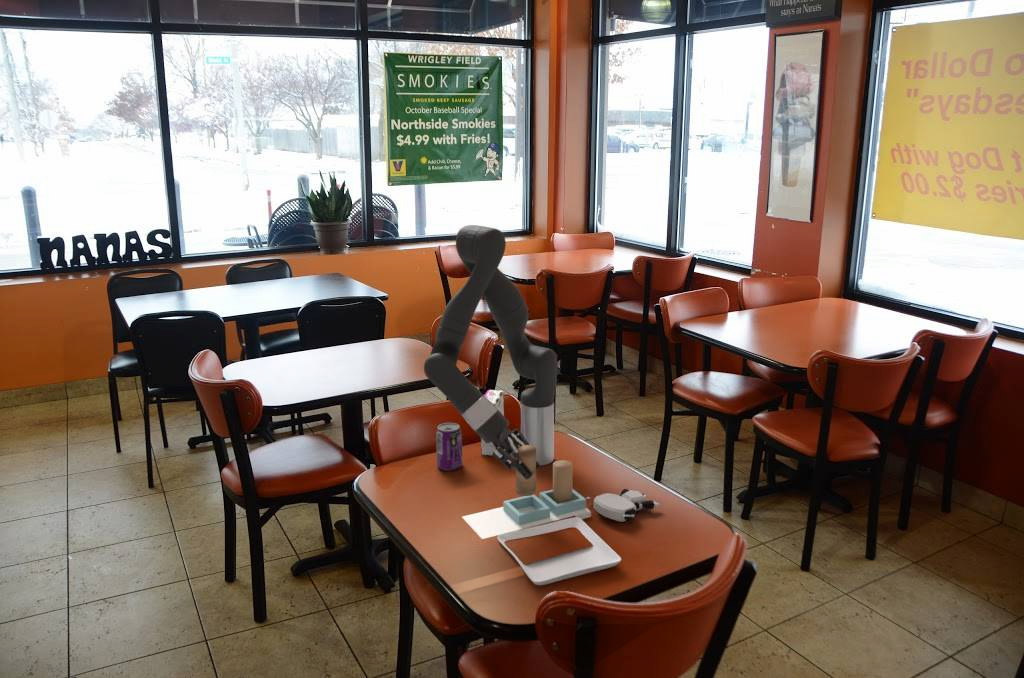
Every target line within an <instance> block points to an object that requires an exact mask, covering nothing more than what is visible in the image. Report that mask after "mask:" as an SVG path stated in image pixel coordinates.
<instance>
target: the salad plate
mask: <svg viewBox="0 0 1024 678" xmlns="http://www.w3.org/2000/svg"><path fill="white" fill-rule="evenodd" d="M569 528H570V529H571V528H576V529H577V530H578V531H580V533H581V534H582V535H583V536H584V537H585V539H586V540H588V541H589V542H590V543H591V546H586V547H583V548H579V549H576V550H573V551H569V552H566V553H561V554H557V555H555V556H551V557H547V558H544V559H540V560H536V561H533V562H529V563H526V564H523V562H522V561H521V559H519V558H518V556H517V555H516V554H515V553H514V551H512V549H510V547H508V546H507V545H506V544H505V542H506V541H512V540H516V539H517V540H518V539H523V538H527V537H528V538H529V537H534V536H538V535H544V534H548V533H554V532H557V531H561V530H565V529H569ZM496 537H497V540H498V542H499V543H500V544H501V545H502V546H503V547H504V549H506V550H507V551H508V552H509V553H510V554H511V556H512V557H513V558H514V559H515V560H516V561H517V563H518V565H520V567H521V569H522V570H523V571H524V574H526V576H527V577H528V578H529V580H530V581H531V582H532V584H534V585H536V586H544V585H548V584H549V585H550V584H553V583H555V582H559V581H563V580H566V579H571V578H574V577H578V576H581V575H586V574H589V573H594V572H597V571H601V570H605V569H609V568H613V567H615V566H616V565H618V564H619V563H621V562H622V558H621V556H620V555H619V554H618V553H617V552H616V551H614V549H612V548H611V547H610V546H609V545H608V544H607V543H606V542H605V541H604V540H603V539H602V538H601V537H600V536H599V535H598V534H597V533H596V532H595V531H594V530H593V529H592V528H591V527H590V526H589V525H588V524H587V523H586V522H585V521H584V519H580V518H579V517H576V516H575V517H574V516H573V517H568V518H564V519H560V520H556V521H552V522H548V523H544V524H540V525H536V526H532V527H528V528H525V529H521V530H517V531H513V532H509V533H505V534H501V535H497V536H496Z"/></svg>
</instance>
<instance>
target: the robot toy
mask: <svg viewBox="0 0 1024 678" xmlns="http://www.w3.org/2000/svg"><path fill="white" fill-rule="evenodd" d="M586 500H593V505H592V506H593V507H592V508H593V509H594V510H595V511H596V512H597V513H598V514H600V515H601V516H603V517H604V518H607V519H610V520H614V521H616V522H620V523H623V522H626V521H627V520H630V519H633V518H635V517H636V515H637V513H636V512H637V511H641V510H642V509H643V508H644V509H646V510H654V507H655V508H658V507H660V503H659V502H657V501H653V500H652V499H651V500H647V494H644V493H642V492H641V491H639V490H638V491H636V490H631V489H628V488H623V489H622V490H621V492H620V495H619V494H615V493H608V492H606V493H602V494H599V495H597V496H595V497H589V496H587V497H586Z"/></svg>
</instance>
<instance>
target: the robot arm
mask: <svg viewBox="0 0 1024 678" xmlns="http://www.w3.org/2000/svg"><path fill="white" fill-rule="evenodd" d="M506 244H507V243H506V238H505V235H504V233H503V232H502V231H501V230H500V229H498V228H495V227H489V226H481V225H478V224H477V225H475V224H469V225H464V226H462V227H461V228H460V229H459V230H458V232H457V234H456V238H455V249H456V252H457V254H458V256H459V259H460V260H461V262H462V263H463V265H464V266H465V268H466V269H467V271H468V273H469V274H470V276H469V278H468V279H467V280H466V281H465V282H464V284H463V286H461V288H459V290H458V291H457V292H456V293H455V294H454V295H453V296H452V298H450V300H449V302H447V305H446V306H445V308H444V311H443V312H442V315H441V319H440V321H439V324H438V327H437V330H436V334H435V341H434V344H433V346H432V349H431V351H430V355H429V356H428V357H426V359H425V361H424V364H423V371H424V374H425V376H426V377H427V379H428V380H429V381H430V382H431V383H432V384H433V385H434V386H435V387H436V388H437V389H438V390H439V392H441V393H442V394H443V395H445V397H446V398H447V399H448V401H449V402H450V404H451V405H452V406H453V408H455V409H456V411H458V413H459V414H460V415H461V416H462V417H463V419H464V420H465V422H467V424H468V425H469V426H470V428H471V429H472V430H474V431H473V432H475V433H476V434H477V436H479V437H480V439H481V438H482V440H483V441H484V442H485V443H487V444H488V443H490V442H492V443H493V445H494V446H495V448H496V450H495V451H494V452H493V453H492V454H493V456H492V457H494V458H495V459H496V460H497V461H499V462H500V463H501V464H502V465H503V466H504V467H506V468H507V469H508V470H510V471H511V470H512V469H514V470H516V469H517V470H518V471H519V472H520V473H521V475H522V476H523V477H524V478H525V479H529V478H530V477H531V476H532V475H533V472H532V471H531V470H530V469H529V468H528V467H527V466H526V465H525V464H524V463H522V460H521V459H520V457H519V456H518V451H517V449H516V448H517V447H518V446H522V445H530V446H534V447H535V448H536V470H537V469H538V468H540V466H546V465H548V464H551V463H552V462H553V461H555V460H554V459H555V454H554V453H555V438H554V437H555V396H556V391H557V380H558V378H557V377H558V357H557V353H556V352H555V351H554V350H553V349H551V348H548V347H544V346H538V345H533V344H532V343H531V342H530V341H529V339H528V337H527V335H526V333H525V332H526V331H525V330H526V326H527V324H528V321H529V309H528V306H527V303H526V301H525V299H524V296H523V294H522V293H521V291H520V289H519V288H518V286H516V284H515V283H514V282H513V281H512V280H510V279H509V278H508V276H506V275H505V274H504V273H503V272H502V271H501V270H500V269H499V266H500V264H501V263H502V260H503V257H504V255H505V252H506V247H507V245H506ZM482 298H483V299H484V300H485V303H486V305H487V308H488V310H489V312H490V314H491V316H492V318H493V320H494V322H495V324H496V326H497V328H498V329H499V332H500V334H501V336H502V338H503V341H504V343H505V345H506V347H507V350H508V353H509V356H510V359H511V362H512V365H513V367H514V369H515V371H516V373H517V375H520V376H521V377H523V378H525V379H529V380H530V379H531V380H535V384H534V387H530V388H527V389H525V390H523V391H522V392H521V394H520V429H519V428H515V429H514V430H511V429H510V428H509V425H510V421H509V420H508V419H507V418H506V417H505V415H504V416H503V415H502V413H501V412H500V411H499V410H498V409H497V408H496V407H495V406H494V405H493V404H492V402H491V401H489V400H488V399H487V398H486V397H485V396H484V394H483V393H482V392H481V391H480V390H479V388H477V386H476V385H475V384H474V383H473V382H472V381H470V379H468V378H467V377H466V376H465V375H464V373H463V371H461V370H460V368H459V367H458V366H457V364H458V360H459V356H460V353H461V349H462V346H463V344H464V342H465V339H466V337H467V335H468V331H469V329H470V326H471V323H472V319H473V318H474V314H475V312H476V310H477V307H478V305H479V303H480V301H481V300H482Z"/></svg>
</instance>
